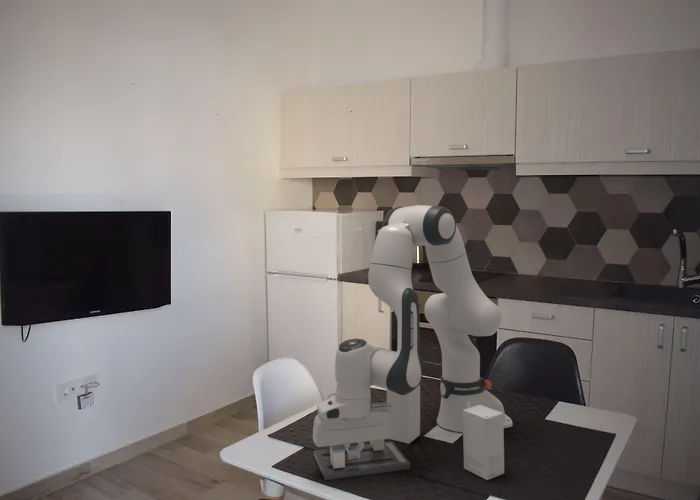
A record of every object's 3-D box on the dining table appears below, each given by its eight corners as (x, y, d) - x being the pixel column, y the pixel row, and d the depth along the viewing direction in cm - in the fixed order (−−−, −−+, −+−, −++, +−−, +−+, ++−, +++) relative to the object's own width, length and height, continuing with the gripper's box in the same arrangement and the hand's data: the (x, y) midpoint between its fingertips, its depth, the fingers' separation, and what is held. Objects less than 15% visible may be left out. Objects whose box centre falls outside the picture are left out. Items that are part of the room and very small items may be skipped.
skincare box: (504, 474, 145) (505, 413, 144) (485, 481, 141) (486, 419, 140) (480, 461, 152) (480, 403, 151) (461, 468, 148) (461, 408, 147)
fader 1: (341, 460, 149) (341, 443, 149) (345, 467, 145) (344, 449, 145) (330, 461, 149) (329, 444, 148) (333, 468, 145) (333, 451, 144)
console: (392, 446, 162) (392, 440, 162) (410, 469, 148) (410, 463, 148) (313, 455, 156) (313, 450, 156) (324, 480, 143) (324, 474, 143)
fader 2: (379, 443, 159) (379, 427, 159) (384, 449, 155) (384, 433, 155) (369, 444, 158) (369, 428, 158) (374, 451, 154) (374, 434, 154)
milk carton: (409, 444, 163) (409, 377, 161) (386, 439, 167) (386, 373, 165) (420, 435, 169) (420, 370, 167) (398, 430, 173) (398, 367, 171)
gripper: (388, 397, 152) (388, 448, 154) (311, 404, 147) (311, 458, 148) (396, 405, 146) (396, 459, 147) (315, 413, 141) (316, 469, 142)
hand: (353, 458), depth 148 cm, fingers closed
